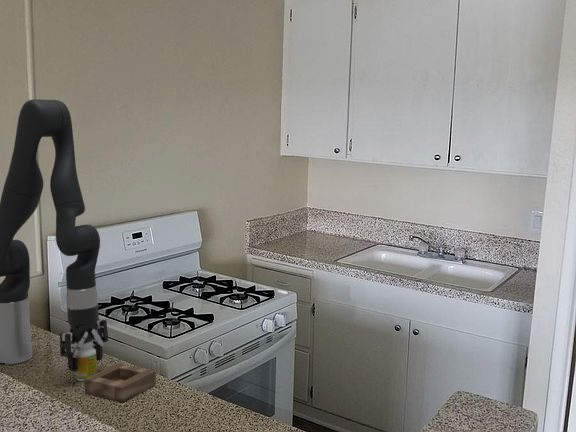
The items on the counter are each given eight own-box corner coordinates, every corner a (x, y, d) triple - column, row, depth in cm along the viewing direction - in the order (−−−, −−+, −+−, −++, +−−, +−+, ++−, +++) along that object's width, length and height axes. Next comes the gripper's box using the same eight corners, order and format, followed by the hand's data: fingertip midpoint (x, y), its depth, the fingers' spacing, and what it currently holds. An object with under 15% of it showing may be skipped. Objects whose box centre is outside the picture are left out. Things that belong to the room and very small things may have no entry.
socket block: (85, 393, 162) (84, 379, 161) (119, 376, 172) (118, 363, 172) (123, 402, 156) (122, 388, 156) (155, 384, 167) (155, 370, 166)
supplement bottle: (90, 382, 168) (88, 345, 167) (71, 381, 169) (69, 344, 168) (101, 374, 174) (99, 338, 172) (82, 373, 175) (80, 337, 173)
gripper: (91, 295, 177) (95, 354, 179) (49, 309, 164) (54, 372, 166) (113, 298, 173) (116, 358, 175) (72, 313, 161) (76, 377, 163)
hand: (86, 365), depth 171 cm, fingers open, 8 cm apart
